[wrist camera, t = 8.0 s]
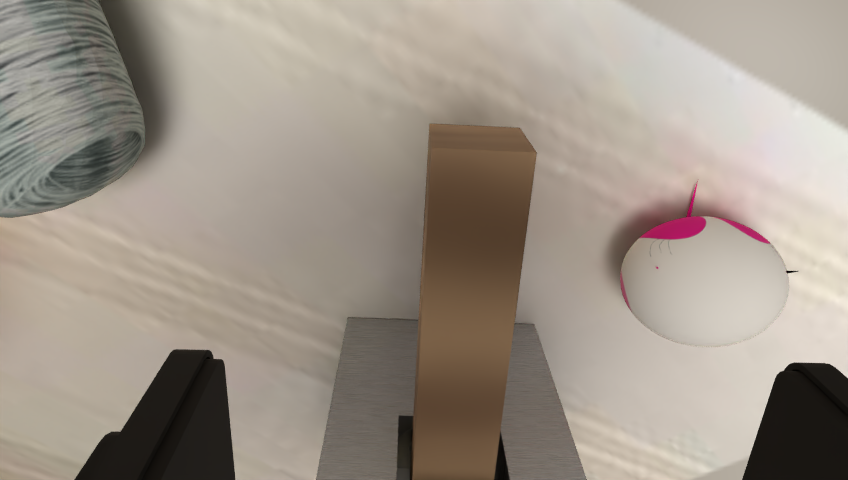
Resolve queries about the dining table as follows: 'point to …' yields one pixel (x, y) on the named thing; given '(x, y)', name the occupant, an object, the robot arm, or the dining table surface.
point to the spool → (62, 105)
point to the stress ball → (704, 281)
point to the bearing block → (394, 405)
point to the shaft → (468, 296)
